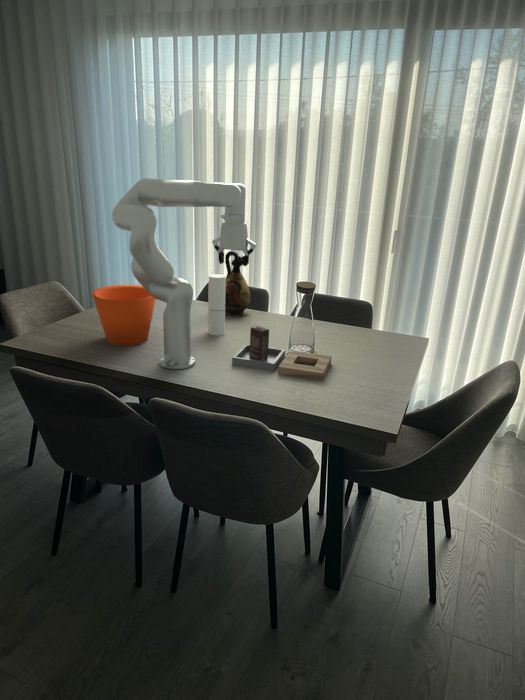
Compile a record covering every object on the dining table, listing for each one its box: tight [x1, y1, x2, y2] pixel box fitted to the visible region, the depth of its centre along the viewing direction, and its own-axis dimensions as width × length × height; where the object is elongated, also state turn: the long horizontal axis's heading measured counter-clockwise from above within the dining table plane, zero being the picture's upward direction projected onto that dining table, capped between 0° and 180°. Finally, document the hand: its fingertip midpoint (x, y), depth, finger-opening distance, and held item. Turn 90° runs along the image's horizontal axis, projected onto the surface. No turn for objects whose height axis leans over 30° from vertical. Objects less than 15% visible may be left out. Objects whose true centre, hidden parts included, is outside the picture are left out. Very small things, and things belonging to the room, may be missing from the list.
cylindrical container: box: [207, 273, 227, 336], centre depth 218 cm, size 7×7×25 cm
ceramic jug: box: [224, 250, 251, 316], centre depth 249 cm, size 17×15×30 cm
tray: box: [231, 343, 286, 372], centre depth 193 cm, size 16×16×3 cm
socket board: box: [277, 349, 332, 382], centre depth 187 cm, size 18×16×3 cm
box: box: [249, 325, 270, 361], centre depth 191 cm, size 6×4×12 cm
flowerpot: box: [91, 284, 157, 347], centre depth 206 cm, size 25×25×20 cm
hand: (233, 264), depth 196 cm, fingers open, 9 cm apart
